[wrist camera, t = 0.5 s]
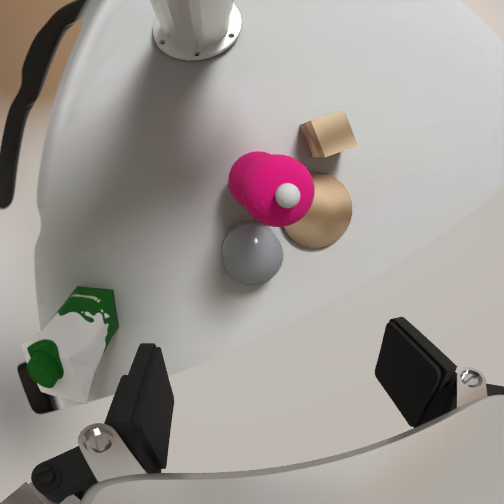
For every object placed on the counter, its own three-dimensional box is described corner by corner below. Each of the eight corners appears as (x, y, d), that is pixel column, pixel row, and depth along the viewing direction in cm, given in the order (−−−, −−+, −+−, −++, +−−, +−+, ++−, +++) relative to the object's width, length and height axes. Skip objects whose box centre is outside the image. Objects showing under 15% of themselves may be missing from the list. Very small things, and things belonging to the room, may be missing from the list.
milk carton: (117, 284, 40) (64, 367, 21) (124, 332, 43) (88, 421, 24) (72, 280, 39) (7, 351, 20) (81, 326, 41) (33, 404, 23)
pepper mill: (287, 165, 37) (354, 172, 18) (267, 211, 39) (313, 261, 20) (239, 144, 36) (262, 126, 17) (219, 193, 37) (221, 226, 19)
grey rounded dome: (220, 223, 39) (220, 230, 35) (276, 219, 40) (282, 225, 36) (224, 275, 42) (225, 287, 38) (277, 271, 42) (283, 282, 39)
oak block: (299, 125, 36) (310, 120, 31) (329, 115, 36) (344, 110, 31) (312, 157, 37) (325, 157, 33) (341, 146, 37) (357, 145, 33)
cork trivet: (278, 173, 38) (280, 174, 37) (350, 173, 39) (352, 173, 38) (280, 249, 41) (281, 251, 40) (348, 243, 42) (350, 245, 41)
